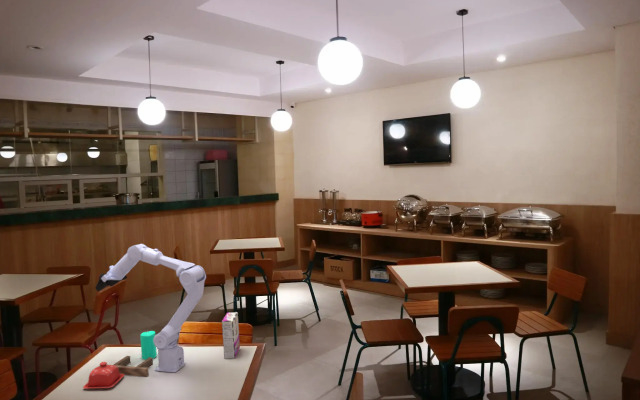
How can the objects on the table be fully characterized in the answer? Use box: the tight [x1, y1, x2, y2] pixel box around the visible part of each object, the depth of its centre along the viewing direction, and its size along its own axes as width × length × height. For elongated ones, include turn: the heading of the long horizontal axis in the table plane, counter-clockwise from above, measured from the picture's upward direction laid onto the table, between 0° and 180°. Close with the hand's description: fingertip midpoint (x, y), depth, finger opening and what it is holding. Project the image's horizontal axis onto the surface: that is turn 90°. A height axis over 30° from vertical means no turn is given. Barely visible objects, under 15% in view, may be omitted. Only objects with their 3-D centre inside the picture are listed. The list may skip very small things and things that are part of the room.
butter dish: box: [82, 361, 126, 390], centre depth 174 cm, size 12×12×8 cm
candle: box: [139, 329, 158, 361], centre depth 197 cm, size 6×6×12 cm
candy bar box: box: [221, 311, 241, 360], centre depth 198 cm, size 11×5×16 cm, turn 179°
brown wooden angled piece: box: [112, 355, 154, 378], centre depth 186 cm, size 20×10×3 cm, turn 77°
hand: (103, 287), depth 190 cm, fingers open, 7 cm apart
